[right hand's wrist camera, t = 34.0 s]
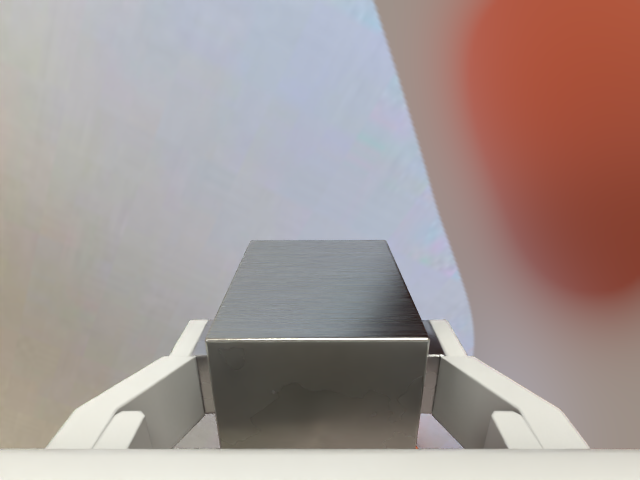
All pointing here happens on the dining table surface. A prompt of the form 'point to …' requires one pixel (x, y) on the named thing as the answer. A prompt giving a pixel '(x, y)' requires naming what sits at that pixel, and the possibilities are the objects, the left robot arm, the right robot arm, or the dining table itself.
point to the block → (317, 349)
